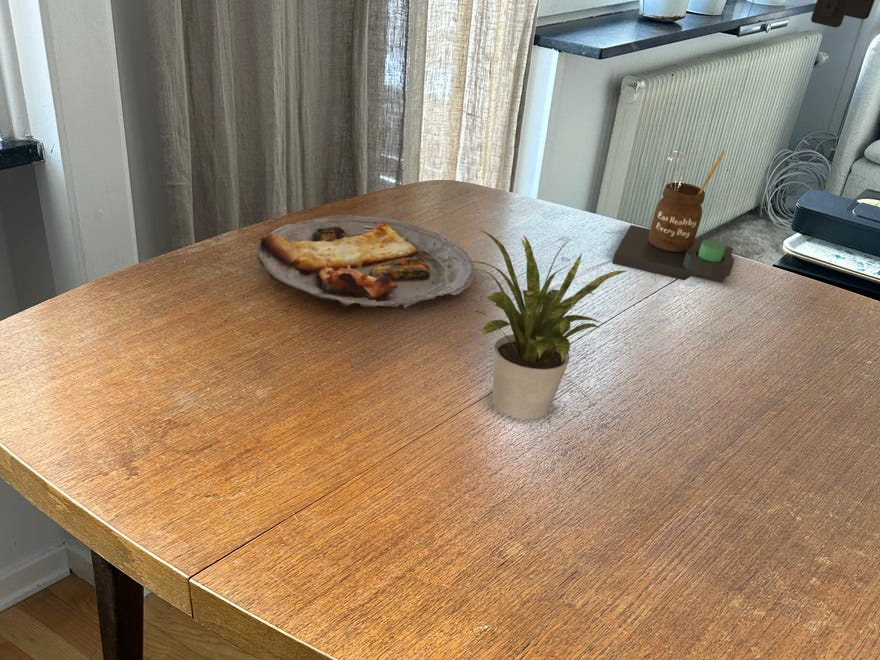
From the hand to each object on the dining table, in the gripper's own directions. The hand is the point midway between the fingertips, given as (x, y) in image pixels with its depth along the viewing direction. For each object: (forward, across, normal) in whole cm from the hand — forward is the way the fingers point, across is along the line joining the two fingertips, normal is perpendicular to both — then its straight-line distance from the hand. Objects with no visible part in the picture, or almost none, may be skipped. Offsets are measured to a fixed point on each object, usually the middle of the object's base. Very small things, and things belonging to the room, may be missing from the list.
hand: (839, 20), depth 105 cm
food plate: (+28, -41, +32) cm, 59 cm away
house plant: (+28, -55, +3) cm, 62 cm away
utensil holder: (+27, -4, +10) cm, 29 cm away
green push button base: (+28, -5, +9) cm, 30 cm away
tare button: (+26, -7, +4) cm, 27 cm away
